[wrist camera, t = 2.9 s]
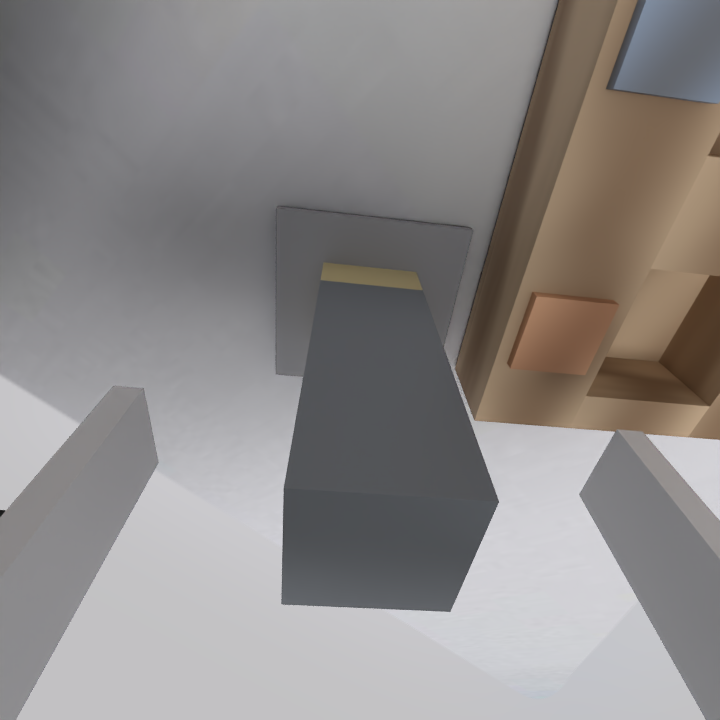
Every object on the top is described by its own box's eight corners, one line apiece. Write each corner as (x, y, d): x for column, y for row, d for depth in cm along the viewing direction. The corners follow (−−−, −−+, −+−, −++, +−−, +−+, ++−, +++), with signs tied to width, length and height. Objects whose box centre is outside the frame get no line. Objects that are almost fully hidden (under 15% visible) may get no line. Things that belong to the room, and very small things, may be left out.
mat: (276, 369, 21) (275, 374, 21) (277, 206, 17) (276, 208, 16) (431, 382, 22) (432, 387, 21) (470, 228, 17) (473, 230, 17)
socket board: (455, 368, 21) (476, 426, 17) (607, -168, 11) (728, -294, 8) (675, 387, 22) (741, 447, 18) (989, -97, 12) (1261, -179, 9)
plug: (318, 343, 20) (281, 604, 10) (323, 262, 18) (283, 487, 7) (400, 350, 20) (450, 611, 10) (416, 272, 18) (498, 502, 8)
